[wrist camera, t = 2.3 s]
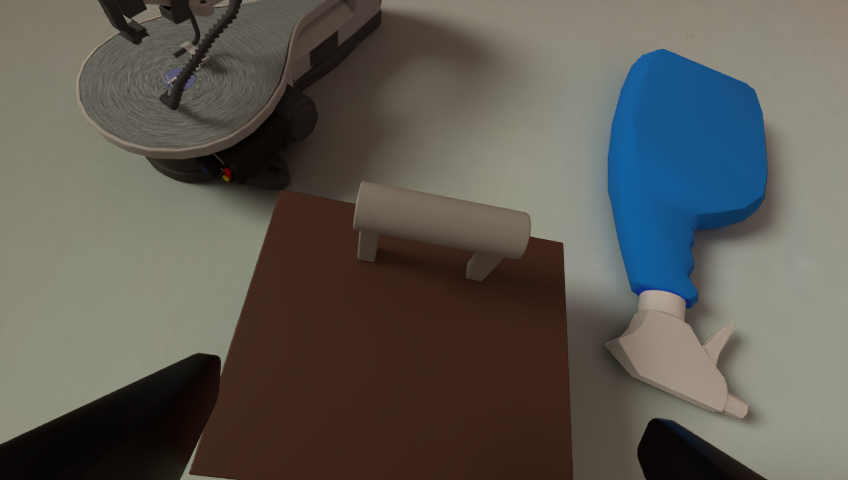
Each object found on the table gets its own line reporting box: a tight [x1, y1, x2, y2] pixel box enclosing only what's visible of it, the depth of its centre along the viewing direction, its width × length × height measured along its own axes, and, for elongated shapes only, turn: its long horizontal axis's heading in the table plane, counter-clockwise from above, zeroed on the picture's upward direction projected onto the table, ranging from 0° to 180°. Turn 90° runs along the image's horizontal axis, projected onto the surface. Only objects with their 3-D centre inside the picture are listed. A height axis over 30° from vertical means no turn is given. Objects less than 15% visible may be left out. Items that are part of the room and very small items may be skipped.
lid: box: [189, 181, 573, 480], centre depth 13 cm, size 10×13×5 cm
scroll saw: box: [76, 0, 382, 190], centre depth 21 cm, size 20×11×12 cm
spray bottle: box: [605, 49, 767, 418], centre depth 26 cm, size 3×11×25 cm
